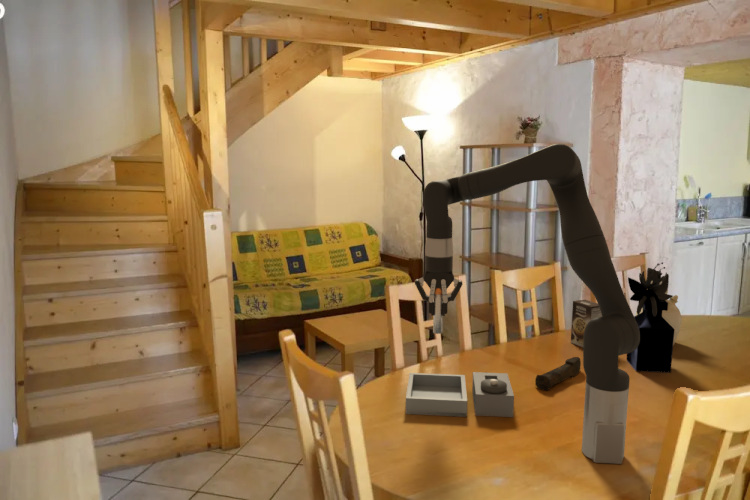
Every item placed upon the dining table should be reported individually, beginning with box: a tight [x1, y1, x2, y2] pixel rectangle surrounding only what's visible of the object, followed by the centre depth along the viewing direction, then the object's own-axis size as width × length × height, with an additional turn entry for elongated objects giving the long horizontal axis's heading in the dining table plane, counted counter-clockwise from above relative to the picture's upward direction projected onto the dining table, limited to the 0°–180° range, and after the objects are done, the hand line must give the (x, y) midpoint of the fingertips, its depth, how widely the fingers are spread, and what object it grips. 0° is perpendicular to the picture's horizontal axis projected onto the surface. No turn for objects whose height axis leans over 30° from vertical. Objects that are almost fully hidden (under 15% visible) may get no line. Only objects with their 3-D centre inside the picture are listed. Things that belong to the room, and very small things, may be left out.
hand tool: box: [535, 356, 582, 391], centre depth 178 cm, size 23×5×6 cm, turn 130°
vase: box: [626, 262, 674, 373], centre depth 186 cm, size 14×12×35 cm
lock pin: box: [432, 288, 443, 335], centre depth 159 cm, size 3×3×14 cm
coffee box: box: [570, 299, 602, 348], centre depth 210 cm, size 9×6×16 cm
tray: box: [405, 372, 468, 418], centre depth 163 cm, size 18×16×4 cm
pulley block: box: [471, 371, 515, 418], centre depth 161 cm, size 16×10×8 cm, turn 173°
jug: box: [635, 276, 682, 346], centre depth 212 cm, size 15×16×25 cm
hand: (438, 314), depth 159 cm, fingers closed on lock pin, 2 cm apart
